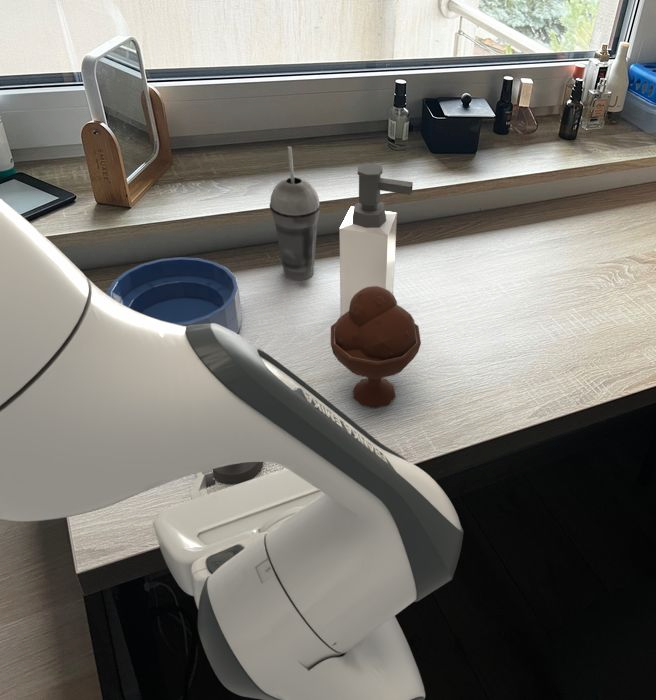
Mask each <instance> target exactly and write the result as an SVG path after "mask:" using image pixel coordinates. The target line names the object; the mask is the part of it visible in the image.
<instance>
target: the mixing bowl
mask: <svg viewBox="0 0 656 700" xmlns="http://www.w3.org/2000/svg"><path fill="white" fill-rule="evenodd" d="M106 295H108V296H109V297H111V298H112V299H114V300H116V301H117V302H119V303H121V304H122V305H124V306H126V307H128V308H130V309H132V310H134V311H136V312H139V313H141V314H144V315H146V316H149V317H152V318H155V319H158V320H161V321H165V322H168V323H172V324H177V325H182V326H188V325H198V324H210V323H216V324H218V325H221V326H223V327H225V328H227V329H229V330H231V331H233V332H235V333H237V334H238V333H239V331H240V328H241V325H242V321H243V315H242V306H241V297H240V289H239V283H238V280H237V277H236V276H235V275H234V273H232V272H231V270H230V269H229V268H228V267H225V266H223V265H221V264H219V263H217V262H215V261H212V260H208V259H205V258H198V257H183V256H179V257H178V256H177V257H167V258H166V257H165V258H159V259H156V260H151V261H147V262H144V263H140V264H138V265H136V266H134V267H132V268H130V269H127V270H126V271H124V272H123V273H122V274H120V275H119V276H118V277H116V279H114V280H113V281H112V283H111V285H110V286H109V288H108V289H107V291H106Z"/></svg>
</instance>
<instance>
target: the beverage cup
mask: <svg viewBox="0 0 656 700" xmlns="http://www.w3.org/2000/svg"><path fill="white" fill-rule="evenodd" d="M287 152H288V153H287V154H288V164H289V175H290V176H289V177H287V178H286V177H285V178H283V179H282V180H280V181H279V182H278V183H277V184H275V186H274V188H273V190H272V192H271V195H270V199H269V200H270V202H269V209H270V211H271V215H272V218H273V221H274V225H275V231H276V237H277V241H278V250H279V254H280V260H281V265H282V270H283V274H284V276H285V277H286V278H288V279H290V280H293V281H304V280H309V279H310V278H311V277H312V276H313V275H314V273H315V272H314V269H315V263H316V249H317V232H318V220H319V215H320V210H321V207H322V206H321V203H320V198H319V195H318V192H317V190H316V189H315V188H314V186H313V185H312V183H310V182H308V180H306V179H303V178H301V177H295V171H294V170H295V169H294V161H293V148H292V146H287Z"/></svg>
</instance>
